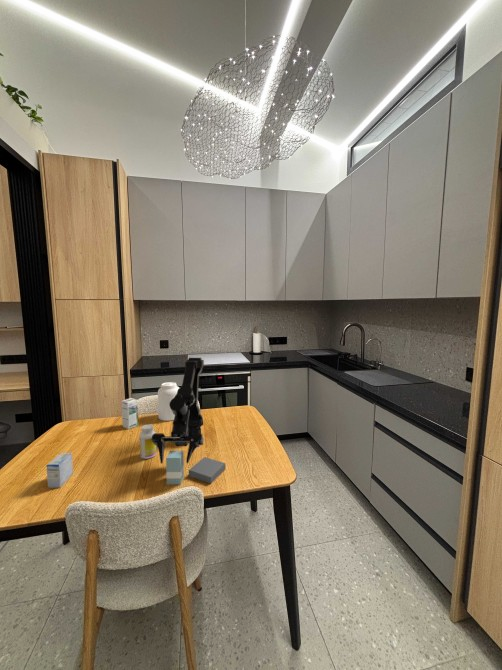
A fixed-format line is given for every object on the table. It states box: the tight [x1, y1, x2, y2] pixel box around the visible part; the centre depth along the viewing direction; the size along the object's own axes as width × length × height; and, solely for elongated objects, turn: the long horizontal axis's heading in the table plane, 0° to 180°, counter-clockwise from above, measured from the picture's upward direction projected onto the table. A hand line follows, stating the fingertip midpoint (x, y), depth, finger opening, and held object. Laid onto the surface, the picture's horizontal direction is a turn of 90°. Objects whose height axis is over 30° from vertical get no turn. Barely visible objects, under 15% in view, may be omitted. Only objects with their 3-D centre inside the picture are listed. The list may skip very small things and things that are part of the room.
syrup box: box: [121, 397, 139, 430], centre depth 145 cm, size 6×6×14 cm
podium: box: [188, 456, 227, 484], centre depth 105 cm, size 10×10×2 cm
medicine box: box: [46, 452, 74, 489], centre depth 99 cm, size 8×4×9 cm, turn 5°
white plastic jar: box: [157, 381, 180, 422], centre depth 157 cm, size 12×12×20 cm
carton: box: [165, 450, 185, 485], centre depth 100 cm, size 5×5×10 cm
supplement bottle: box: [138, 423, 157, 460], centre depth 116 cm, size 7×7×13 cm
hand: (174, 463), depth 99 cm, fingers open, 9 cm apart
